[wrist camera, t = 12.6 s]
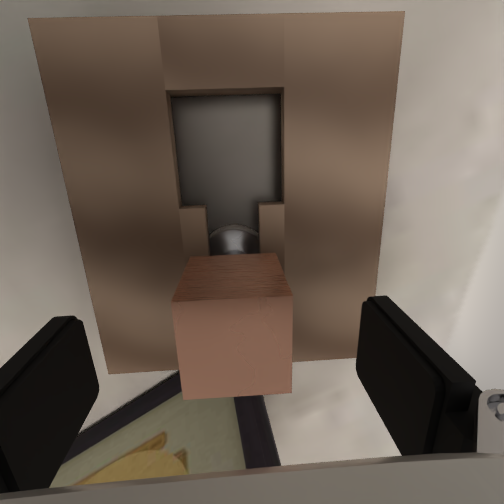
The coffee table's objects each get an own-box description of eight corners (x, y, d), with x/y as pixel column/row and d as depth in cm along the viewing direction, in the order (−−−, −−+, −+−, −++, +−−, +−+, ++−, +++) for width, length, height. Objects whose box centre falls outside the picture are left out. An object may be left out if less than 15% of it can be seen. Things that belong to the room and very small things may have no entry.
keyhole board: (71, 46, 16) (27, 18, 12) (370, 39, 16) (404, 11, 13) (128, 339, 21) (108, 374, 18) (348, 326, 22) (368, 357, 19)
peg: (198, 225, 19) (163, 297, 10) (267, 222, 19) (299, 290, 10) (204, 288, 21) (178, 404, 11) (268, 285, 21) (296, 396, 11)
